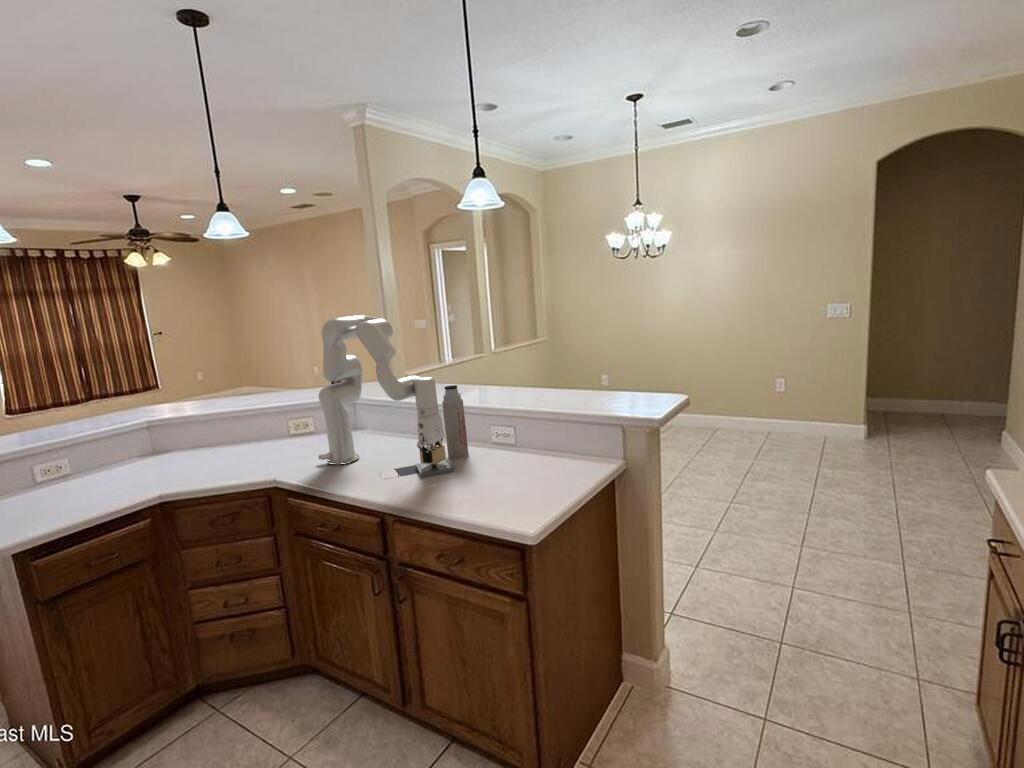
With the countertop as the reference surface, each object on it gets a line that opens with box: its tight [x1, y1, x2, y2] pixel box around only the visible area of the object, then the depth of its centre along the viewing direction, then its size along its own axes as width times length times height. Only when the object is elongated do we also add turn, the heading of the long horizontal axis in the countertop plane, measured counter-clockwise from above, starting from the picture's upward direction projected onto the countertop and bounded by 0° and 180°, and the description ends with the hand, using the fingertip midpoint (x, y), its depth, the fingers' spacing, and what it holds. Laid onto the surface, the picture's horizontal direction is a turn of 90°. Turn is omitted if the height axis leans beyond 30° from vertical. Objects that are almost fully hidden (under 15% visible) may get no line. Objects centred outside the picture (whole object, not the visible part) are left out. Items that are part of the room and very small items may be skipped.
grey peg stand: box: [414, 444, 455, 479], centre depth 193 cm, size 12×12×10 cm
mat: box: [393, 464, 419, 478], centre depth 194 cm, size 14×10×1 cm
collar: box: [419, 444, 447, 465], centre depth 192 cm, size 6×6×5 cm
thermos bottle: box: [441, 384, 469, 459], centre depth 207 cm, size 8×8×28 cm
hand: (433, 459), depth 193 cm, fingers closed on collar, 6 cm apart
